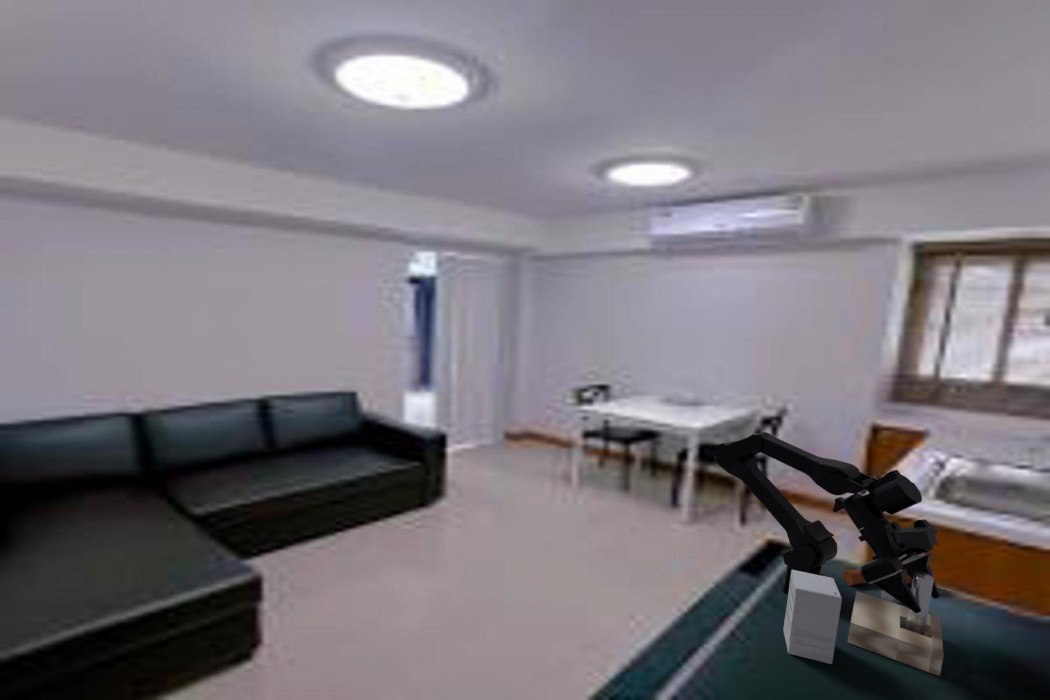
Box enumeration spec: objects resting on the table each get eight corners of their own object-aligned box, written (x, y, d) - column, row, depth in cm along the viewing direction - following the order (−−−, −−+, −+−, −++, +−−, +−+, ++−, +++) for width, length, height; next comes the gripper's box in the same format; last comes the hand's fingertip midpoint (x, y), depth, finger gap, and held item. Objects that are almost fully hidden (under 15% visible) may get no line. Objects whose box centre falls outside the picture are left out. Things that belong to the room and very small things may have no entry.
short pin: (880, 601, 120) (884, 579, 119) (881, 596, 123) (884, 574, 122) (897, 607, 118) (901, 585, 118) (897, 601, 121) (901, 579, 120)
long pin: (898, 643, 106) (910, 573, 104) (907, 639, 107) (919, 570, 105) (915, 653, 103) (928, 581, 101) (924, 649, 105) (937, 578, 103)
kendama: (838, 560, 130) (917, 554, 132) (839, 586, 129) (919, 580, 132) (856, 568, 124) (939, 563, 126) (857, 596, 124) (940, 590, 126)
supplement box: (825, 641, 105) (835, 577, 103) (832, 666, 98) (843, 598, 96) (782, 630, 107) (791, 568, 105) (786, 653, 100) (795, 587, 99)
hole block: (847, 642, 105) (850, 622, 104) (853, 609, 116) (856, 591, 116) (939, 676, 97) (943, 655, 97) (936, 637, 109) (940, 618, 108)
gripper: (889, 516, 99) (953, 606, 92) (928, 498, 111) (988, 577, 103) (837, 540, 107) (892, 625, 99) (878, 520, 118) (931, 596, 110)
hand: (928, 605), depth 103 cm, fingers open, 9 cm apart
